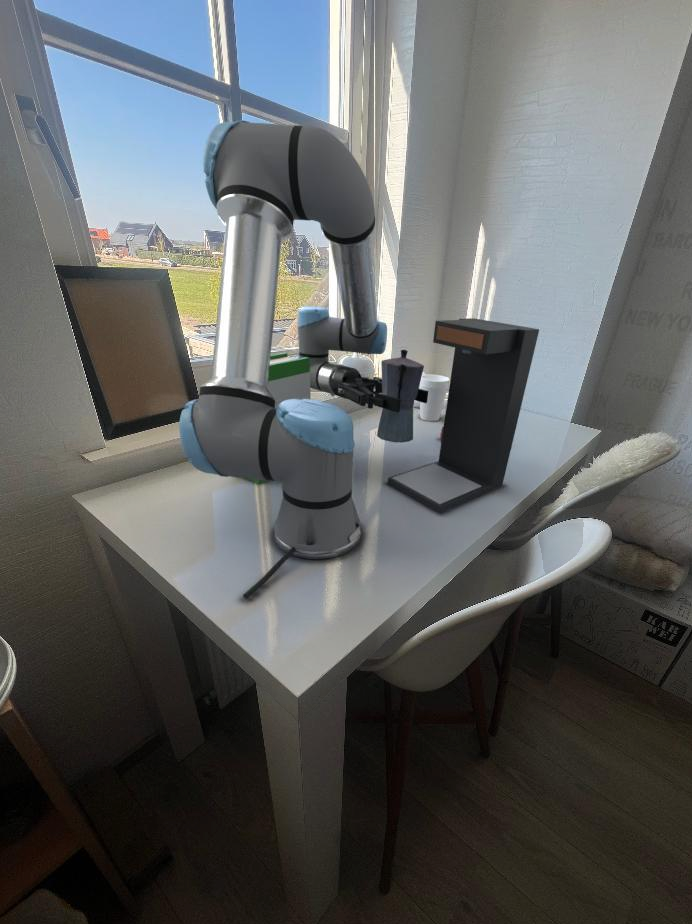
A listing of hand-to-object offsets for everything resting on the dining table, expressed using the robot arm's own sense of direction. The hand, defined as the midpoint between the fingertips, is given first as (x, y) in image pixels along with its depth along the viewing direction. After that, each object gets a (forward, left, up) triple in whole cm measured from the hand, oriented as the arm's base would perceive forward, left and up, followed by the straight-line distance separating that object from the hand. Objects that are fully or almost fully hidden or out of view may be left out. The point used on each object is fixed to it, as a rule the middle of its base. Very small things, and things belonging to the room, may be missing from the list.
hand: (413, 401), depth 93 cm
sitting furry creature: (+42, +37, -17) cm, 59 cm away
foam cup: (+35, +25, -17) cm, 47 cm away
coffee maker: (+2, -11, -17) cm, 20 cm away
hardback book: (-25, +19, -17) cm, 36 cm away
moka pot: (0, +4, -10) cm, 11 cm away
